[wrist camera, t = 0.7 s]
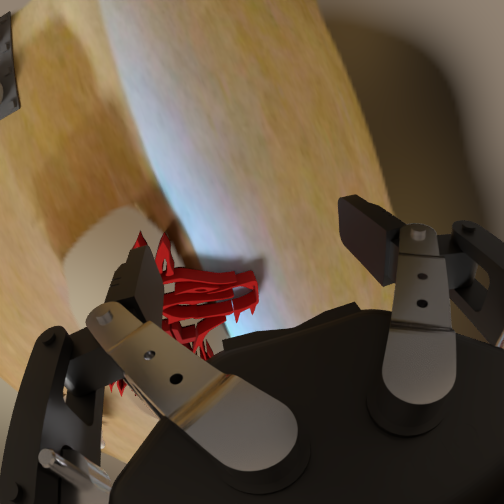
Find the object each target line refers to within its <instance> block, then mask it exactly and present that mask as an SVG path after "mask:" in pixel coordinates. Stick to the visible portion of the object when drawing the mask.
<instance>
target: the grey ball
mask: <svg viewBox="0 0 504 504" xmlns="http://www.w3.org/2000/svg"><path fill="white" fill-rule="evenodd" d="M2 99H3V87H2V85H1V83H0V104H1V102H2Z"/></svg>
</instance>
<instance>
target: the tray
mask: <svg viewBox="0 0 504 504" xmlns="http://www.w3.org/2000/svg"><path fill="white" fill-rule="evenodd" d="M0 83H1V85H2V87H3V99H2V102H1V104H0V120H1V119H3V118H4V117H6V116H8V115H10V114H11V113H13V112H15V111H17V110H18V109H20V105H19V100H18V94H17V87H16V80H15V73H14V64H13V54H12V41H11V12H10V11H9V12H8V13H6V14H5V15H3V16H2V17H0Z"/></svg>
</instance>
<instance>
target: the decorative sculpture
mask: <svg viewBox="0 0 504 504" xmlns="http://www.w3.org/2000/svg"><path fill="white" fill-rule="evenodd" d="M145 245H148V244H147V242H146V240H145V239H144V237H143V235H142V232H141V231H140V233H139V235H138V238H137V240H136V242H135V244H134V246H133V248H132V249H134V248H137V247H142V246H145ZM164 259H166V262H167V265H166V270H164V271H163V264H164ZM155 262H156V265H157V267H158V270H159V272H160V275H161V278H162V281H163V285H164V284H168V283H173V282H175V291H173V292H169V293H164V301H163V315H164V316H165V317H167V318H165V319H162V330H163V331H165V332H166V333H167V334H169V335H170V336H171V337H173V338H174V339H175V340H177V341H178V342H179V343H181V344H182V345H183V346H185V347H186V348H187V349H189V350H190V351H192V352H193V353H194V354H196V355H197V351H196V349H197V347H198V346H200V357H201V359H203V360H204V361H206V360H208V359H209V358H211V357H212V356H214V354H213V351H212V349H211V347H210V345H209V343H208V341H207V339H206V346H207V352H206V351H205V345H204V341H203V339H204V337H205V336H206V334H207V333H208V332H209V331H210V330H212V329H213V328H215V327H216V326H218V325H220V324H221V323H223V322H225V321H227V320H226V315H230V314H232V313H233V312H234V316H235V320H236V324H237V322H238V318H239V315H240V312H242V311H244V310H246V309H248V308H250V310H251V313H252V315H253V313H254V311H255V307H256V305H257V304H258V302H259V295H258V283H257V281H256V278H255V275H254V273H253V271H246V272H243V273H239V274H236V275H235V271H231V272H223V273H215V272H208V271H200V270H194V269H187V268H184V267H174V260H173V257H172V255H171V244H170V241H169V239H168V238H167V236H166V234H165V233H164V234H163V235H162V237H161V239H160V243H159V246H158V250H157V253H156V258H155ZM238 286H243V287H247V288H249V289H253V291H252V292H250V293H248V294H246V295H244V296H241V297H239V298H235V299H232V302H233V307H232V302H231V300H228V301H224V302H219V303H214V304H208V305H206V304H200V305H197V304H199V303H203V302H209V301H216V300H224V299H229V298H232V297H234V293H233V289H232V288H234V287H238ZM253 286H254V287H253ZM179 304H189V305H179ZM233 309H234V311H233ZM190 318H194V319H200V318H204V319H202V320H201V321H199V322H198V323H197V326H196V328H195V324H192V325H187V326H183V327H182V326H181V323H180V321H181V320H185V319H190ZM189 342H192V345H193V346H192V347H191V345H190V343H189ZM192 348H193V349H192ZM195 351H196V353H195ZM114 383H115V382H114ZM114 383H111V384H109V386H110V389H111V393H112V387H113V385H114ZM126 385H127V384H126V383H125V381H124V380H123V379H120V380H118V381H117V387H118V389H119V392H120V394H121V397H122V394H123V391H124V388H125V387H126ZM135 396H136V394H135Z"/></svg>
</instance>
